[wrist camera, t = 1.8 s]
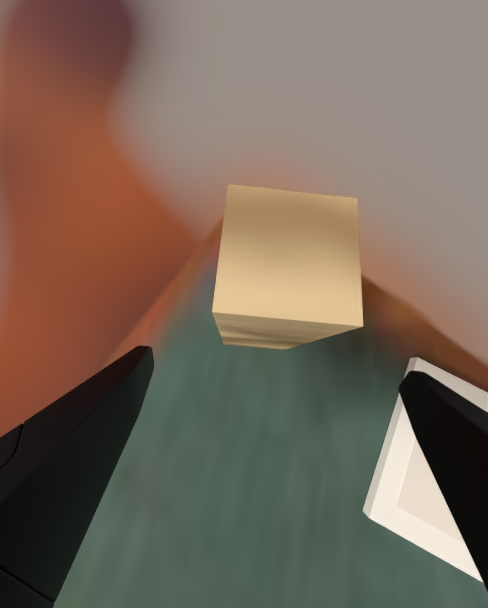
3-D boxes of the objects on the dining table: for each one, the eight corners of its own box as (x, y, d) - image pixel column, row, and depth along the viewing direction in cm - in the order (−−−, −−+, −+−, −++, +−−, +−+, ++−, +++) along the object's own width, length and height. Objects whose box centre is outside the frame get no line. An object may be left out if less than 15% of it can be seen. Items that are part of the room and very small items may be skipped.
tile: (526, 603, 16) (543, 616, 15) (362, 510, 17) (369, 518, 16) (550, 428, 19) (565, 431, 18) (410, 357, 20) (418, 357, 19)
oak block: (284, 349, 19) (363, 326, 8) (224, 344, 19) (211, 312, 8) (286, 292, 21) (357, 198, 9) (230, 286, 20) (228, 184, 9)
